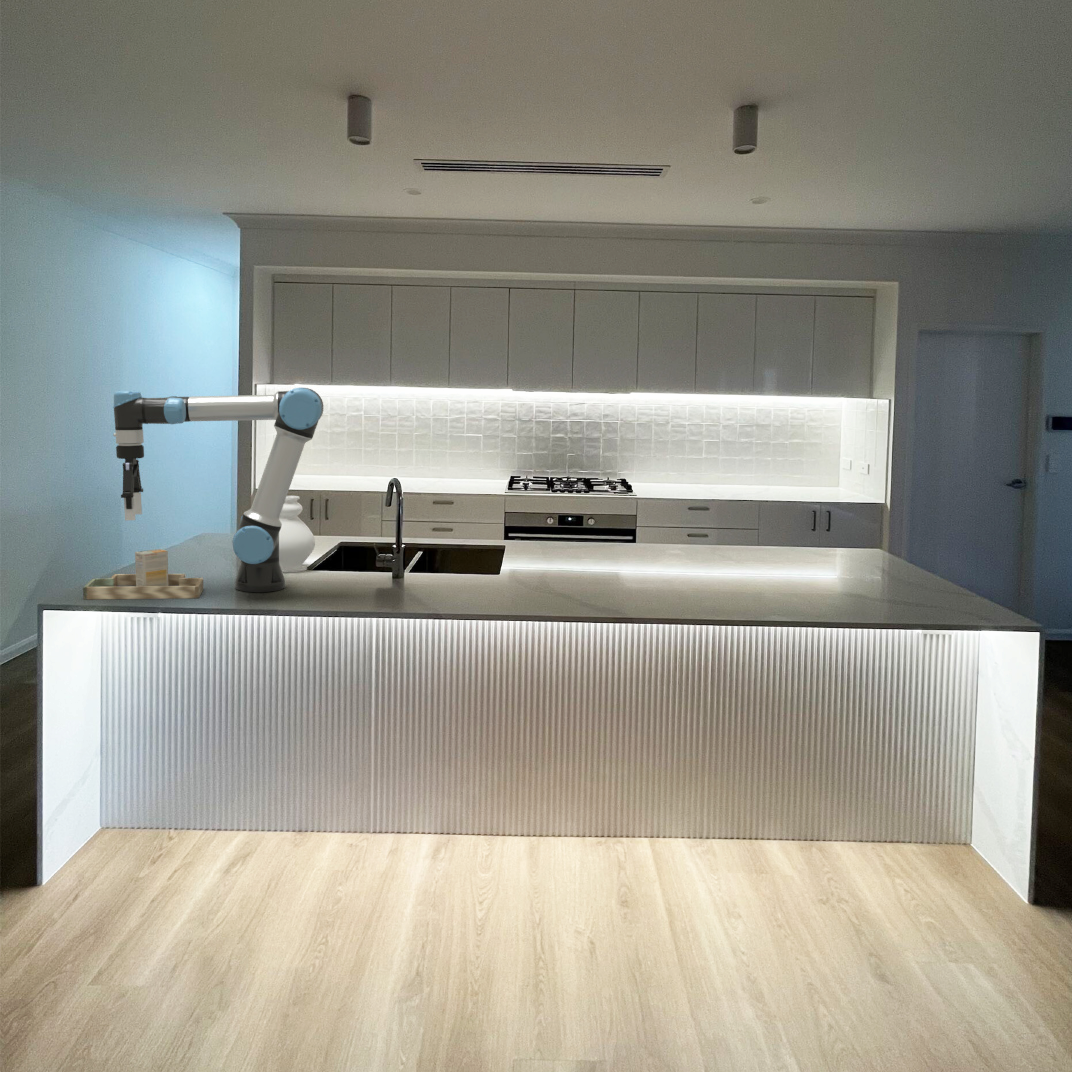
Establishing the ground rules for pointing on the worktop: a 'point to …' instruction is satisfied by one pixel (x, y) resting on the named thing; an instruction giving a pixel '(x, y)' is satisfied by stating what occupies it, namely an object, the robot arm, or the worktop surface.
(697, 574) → the worktop surface
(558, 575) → the worktop surface
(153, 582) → the supplement box
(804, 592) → the worktop surface
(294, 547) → the decorative vase
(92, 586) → the tray
